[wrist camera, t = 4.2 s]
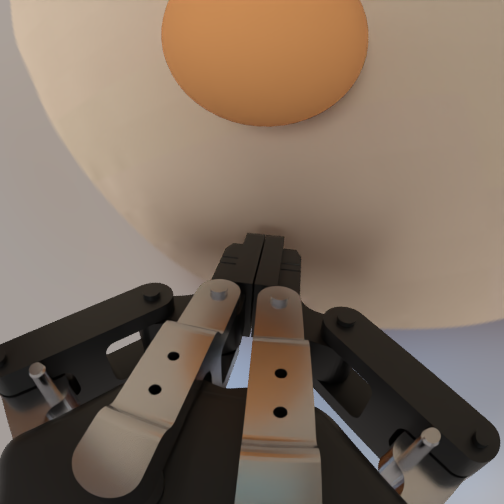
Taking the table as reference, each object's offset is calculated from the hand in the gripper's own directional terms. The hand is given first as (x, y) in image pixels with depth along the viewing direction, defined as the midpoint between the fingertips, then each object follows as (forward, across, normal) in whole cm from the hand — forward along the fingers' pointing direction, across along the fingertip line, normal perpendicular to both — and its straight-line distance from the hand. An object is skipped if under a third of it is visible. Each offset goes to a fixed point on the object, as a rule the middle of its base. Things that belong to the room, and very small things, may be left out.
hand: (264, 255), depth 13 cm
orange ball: (-2, 0, -8) cm, 9 cm away
